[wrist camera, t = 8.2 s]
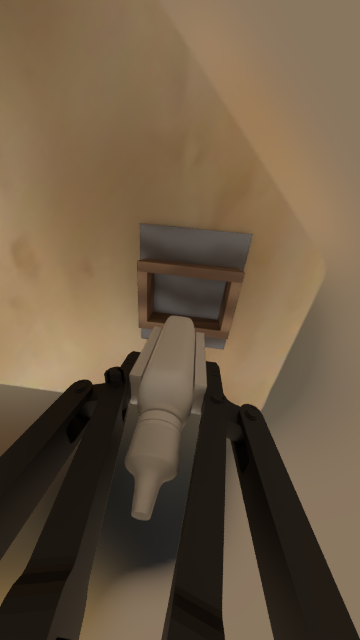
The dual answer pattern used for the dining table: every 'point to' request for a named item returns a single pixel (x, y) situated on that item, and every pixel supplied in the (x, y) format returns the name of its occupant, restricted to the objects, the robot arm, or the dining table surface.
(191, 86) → the dining table surface
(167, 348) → the eye dropper bottle
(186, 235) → the bottle holder
